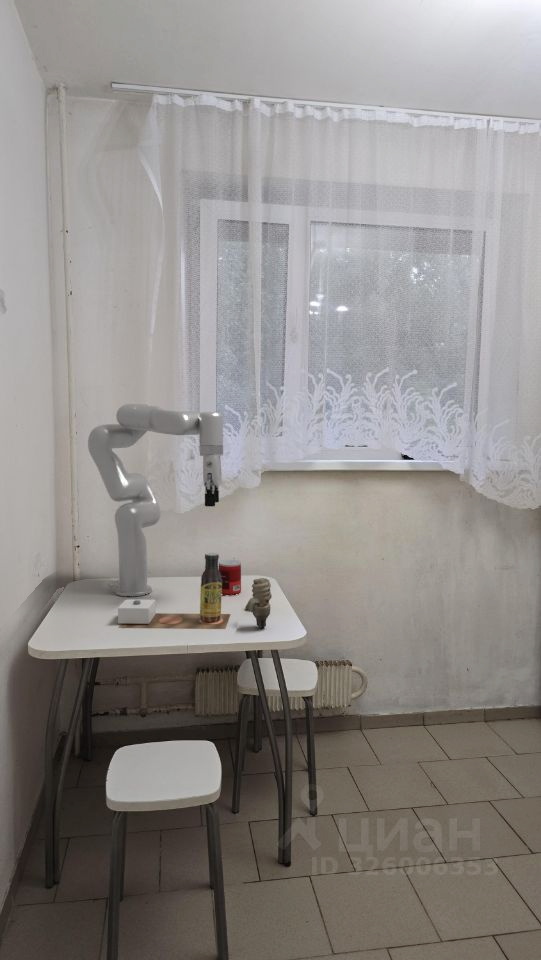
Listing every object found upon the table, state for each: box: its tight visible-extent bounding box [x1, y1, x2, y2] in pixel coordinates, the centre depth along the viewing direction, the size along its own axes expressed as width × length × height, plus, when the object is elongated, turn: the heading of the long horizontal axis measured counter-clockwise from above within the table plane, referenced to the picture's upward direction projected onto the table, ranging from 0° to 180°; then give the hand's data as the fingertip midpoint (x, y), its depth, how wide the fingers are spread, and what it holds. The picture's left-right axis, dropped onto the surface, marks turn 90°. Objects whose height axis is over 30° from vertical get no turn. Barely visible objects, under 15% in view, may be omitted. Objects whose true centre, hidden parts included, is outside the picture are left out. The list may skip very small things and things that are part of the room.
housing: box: [117, 599, 157, 624], centre depth 193 cm, size 9×9×5 cm
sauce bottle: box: [199, 552, 222, 622], centre depth 192 cm, size 6×6×20 cm
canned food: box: [218, 559, 242, 596], centre depth 227 cm, size 8×8×11 cm
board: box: [117, 612, 231, 630], centre depth 193 cm, size 31×14×1 cm, turn 88°
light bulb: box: [251, 577, 272, 630], centre depth 189 cm, size 6×6×15 cm
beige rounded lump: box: [244, 591, 273, 613], centre depth 207 cm, size 6×8×10 cm
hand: (212, 504), depth 210 cm, fingers open, 9 cm apart
